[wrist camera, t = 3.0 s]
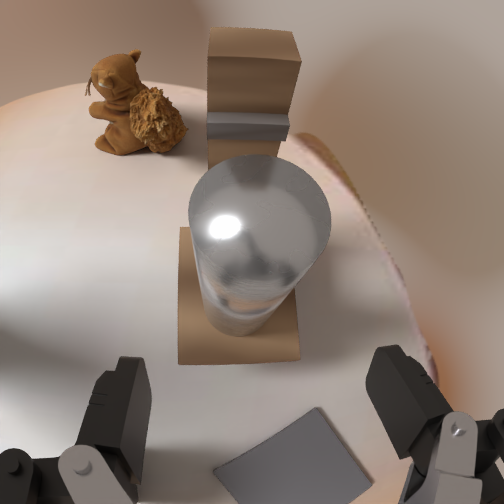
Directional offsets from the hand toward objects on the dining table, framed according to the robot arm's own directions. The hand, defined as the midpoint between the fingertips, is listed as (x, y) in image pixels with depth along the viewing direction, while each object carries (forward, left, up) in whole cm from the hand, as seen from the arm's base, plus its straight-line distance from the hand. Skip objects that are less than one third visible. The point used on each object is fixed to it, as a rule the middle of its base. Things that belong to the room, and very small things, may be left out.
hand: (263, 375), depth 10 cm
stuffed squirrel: (+5, +31, -21) cm, 38 cm away
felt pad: (-1, -13, -21) cm, 25 cm away
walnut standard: (+4, +7, -21) cm, 22 cm away
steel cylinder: (+3, +5, -13) cm, 14 cm away
